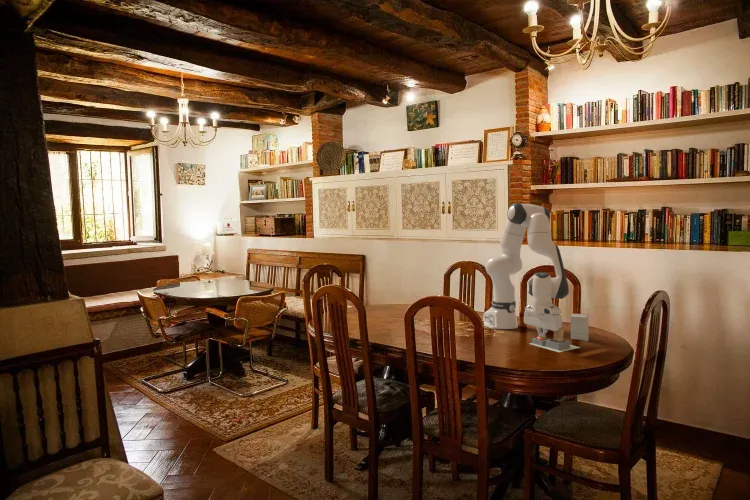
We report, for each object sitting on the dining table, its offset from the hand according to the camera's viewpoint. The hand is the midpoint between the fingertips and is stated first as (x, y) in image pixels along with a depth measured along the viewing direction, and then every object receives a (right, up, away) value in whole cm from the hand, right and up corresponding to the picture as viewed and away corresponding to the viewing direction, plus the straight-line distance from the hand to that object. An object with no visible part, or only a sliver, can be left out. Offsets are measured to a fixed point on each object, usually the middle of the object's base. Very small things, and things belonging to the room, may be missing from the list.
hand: (542, 336), depth 244 cm
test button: (0, -2, 0) cm, 2 cm away
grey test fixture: (+4, -5, -3) cm, 7 cm away
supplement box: (+21, -4, +10) cm, 24 cm away
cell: (+5, -4, -7) cm, 9 cm away
